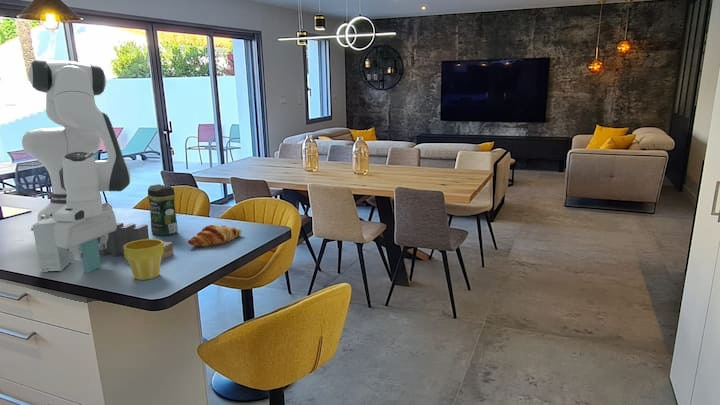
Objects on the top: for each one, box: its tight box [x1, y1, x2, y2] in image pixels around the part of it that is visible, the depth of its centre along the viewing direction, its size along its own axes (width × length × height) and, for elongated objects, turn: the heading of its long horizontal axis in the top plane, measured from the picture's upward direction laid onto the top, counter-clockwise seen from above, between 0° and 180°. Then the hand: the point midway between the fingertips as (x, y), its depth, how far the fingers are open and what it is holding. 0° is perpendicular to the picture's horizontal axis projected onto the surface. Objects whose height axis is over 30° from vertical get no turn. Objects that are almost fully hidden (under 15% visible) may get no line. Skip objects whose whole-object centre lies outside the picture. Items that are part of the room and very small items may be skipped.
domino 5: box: [133, 224, 150, 241], centre depth 152 cm, size 2×5×10 cm, turn 168°
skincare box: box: [32, 218, 72, 273], centre depth 140 cm, size 8×6×15 cm
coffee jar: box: [147, 184, 179, 237], centre depth 176 cm, size 10×8×19 cm
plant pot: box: [123, 238, 164, 281], centre depth 135 cm, size 10×10×10 cm
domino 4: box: [121, 223, 137, 259], centre depth 152 cm, size 2×5×10 cm, turn 168°
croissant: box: [187, 224, 243, 248], centre depth 168 cm, size 21×10×8 cm, turn 140°
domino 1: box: [79, 238, 102, 273], centre depth 140 cm, size 2×5×10 cm, turn 168°
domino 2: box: [98, 233, 111, 257], centre depth 154 cm, size 2×5×10 cm, turn 168°
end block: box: [161, 241, 174, 261], centre depth 151 cm, size 4×8×4 cm, turn 168°
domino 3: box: [109, 222, 125, 258], centre depth 153 cm, size 2×5×10 cm, turn 168°
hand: (91, 253), depth 140 cm, fingers open, 8 cm apart
